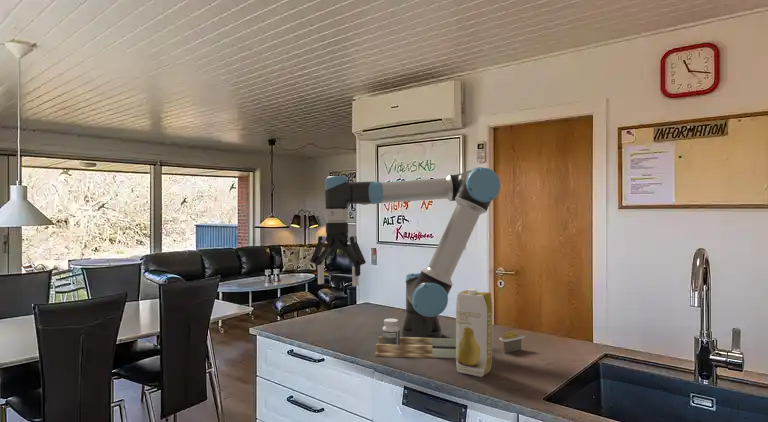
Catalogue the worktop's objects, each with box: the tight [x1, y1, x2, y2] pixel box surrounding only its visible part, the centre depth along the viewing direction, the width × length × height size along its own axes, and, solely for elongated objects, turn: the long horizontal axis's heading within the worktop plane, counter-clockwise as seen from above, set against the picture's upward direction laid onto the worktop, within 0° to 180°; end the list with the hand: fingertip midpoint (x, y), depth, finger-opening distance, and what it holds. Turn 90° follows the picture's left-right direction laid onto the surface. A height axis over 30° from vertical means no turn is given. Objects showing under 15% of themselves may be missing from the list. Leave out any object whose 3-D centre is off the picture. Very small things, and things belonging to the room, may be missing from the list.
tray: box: [432, 337, 456, 359], centre depth 162 cm, size 14×14×2 cm
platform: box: [498, 330, 526, 354], centre depth 164 cm, size 12×18×7 cm, turn 124°
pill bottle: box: [382, 318, 401, 344], centre depth 164 cm, size 6×6×10 cm
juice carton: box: [455, 287, 493, 378], centre depth 142 cm, size 9×8×24 cm
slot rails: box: [374, 336, 434, 359], centre depth 163 cm, size 18×15×3 cm
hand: (337, 284), depth 167 cm, fingers open, 13 cm apart
